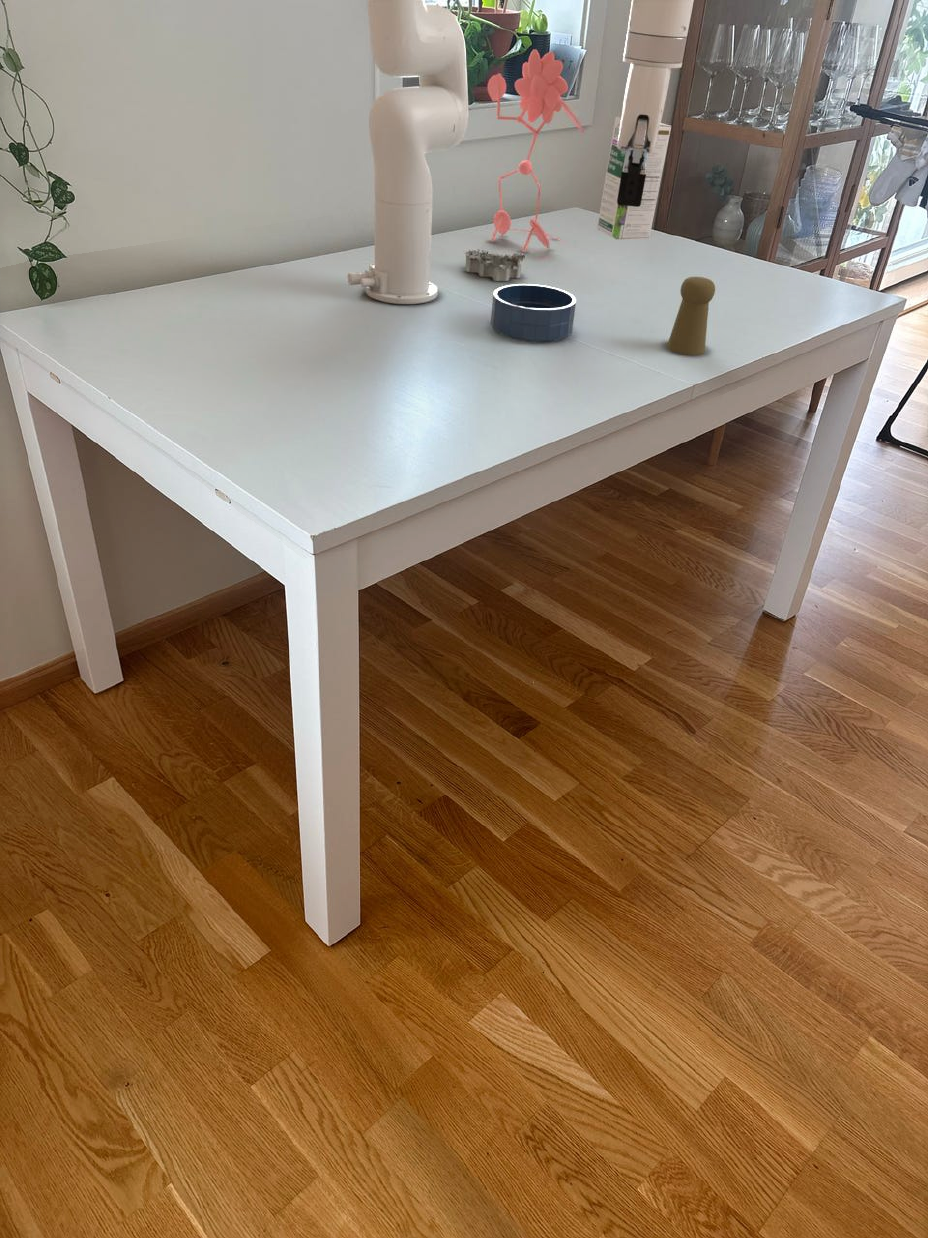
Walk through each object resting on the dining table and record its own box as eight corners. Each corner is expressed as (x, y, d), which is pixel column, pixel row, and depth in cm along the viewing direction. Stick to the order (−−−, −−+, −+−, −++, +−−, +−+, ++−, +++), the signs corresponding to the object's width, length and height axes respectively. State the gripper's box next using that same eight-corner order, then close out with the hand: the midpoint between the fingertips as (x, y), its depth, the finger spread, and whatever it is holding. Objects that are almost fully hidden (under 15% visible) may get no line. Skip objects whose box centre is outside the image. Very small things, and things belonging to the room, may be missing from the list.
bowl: (516, 348, 145) (520, 313, 142) (476, 321, 154) (478, 287, 151) (587, 339, 151) (592, 305, 147) (544, 314, 160) (548, 281, 157)
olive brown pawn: (704, 357, 147) (720, 286, 141) (666, 352, 148) (680, 281, 142) (704, 344, 152) (719, 275, 146) (667, 339, 153) (680, 270, 146)
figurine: (551, 262, 186) (574, 59, 166) (461, 233, 201) (471, 43, 180) (599, 251, 196) (626, 57, 175) (509, 224, 210) (525, 42, 189)
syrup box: (595, 229, 133) (612, 114, 125) (630, 228, 135) (650, 115, 127) (615, 240, 129) (635, 123, 121) (651, 239, 131) (673, 123, 123)
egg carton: (526, 277, 177) (528, 255, 175) (498, 283, 173) (500, 260, 170) (485, 263, 183) (487, 241, 181) (458, 269, 179) (459, 246, 176)
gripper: (626, 42, 126) (605, 182, 137) (622, 53, 112) (598, 209, 123) (682, 48, 126) (656, 188, 136) (685, 60, 112) (656, 216, 122)
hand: (629, 197), depth 129 cm, fingers closed on syrup box, 7 cm apart
